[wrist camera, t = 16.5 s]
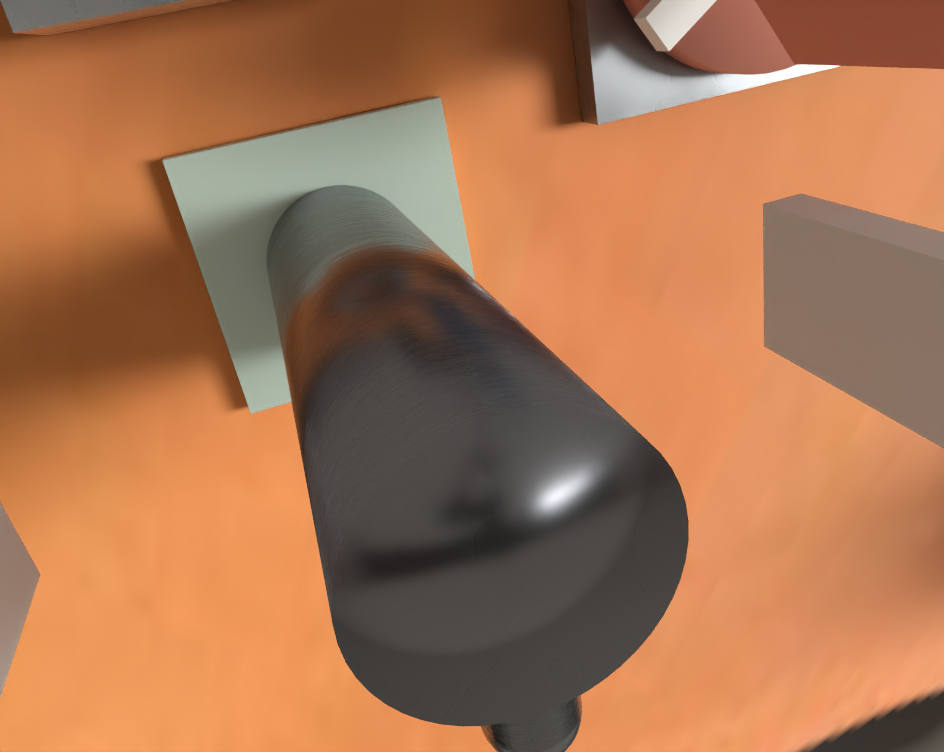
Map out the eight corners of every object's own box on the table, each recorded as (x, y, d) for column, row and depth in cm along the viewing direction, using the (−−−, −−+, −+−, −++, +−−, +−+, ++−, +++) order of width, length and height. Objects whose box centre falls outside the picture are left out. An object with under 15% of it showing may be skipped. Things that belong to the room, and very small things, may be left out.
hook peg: (246, 205, 19) (282, 481, 7) (399, 169, 20) (675, 360, 8) (307, 403, 22) (414, 867, 9) (442, 364, 23) (704, 747, 10)
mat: (163, 157, 19) (162, 160, 18) (436, 96, 20) (441, 97, 20) (250, 406, 22) (251, 413, 21) (481, 338, 23) (486, 344, 23)
